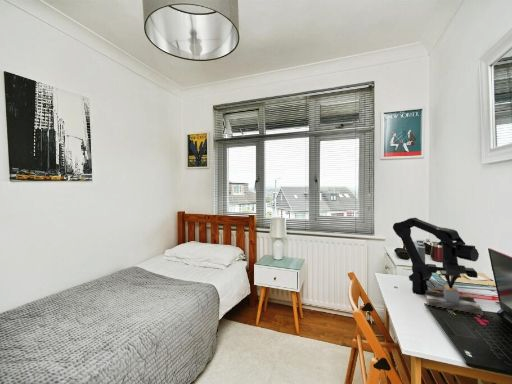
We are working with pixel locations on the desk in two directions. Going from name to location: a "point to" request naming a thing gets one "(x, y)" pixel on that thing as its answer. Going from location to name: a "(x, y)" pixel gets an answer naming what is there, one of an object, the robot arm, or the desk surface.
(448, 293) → the module
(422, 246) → the flask
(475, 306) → the rail board
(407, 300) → the desk surface
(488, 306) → the desk surface
